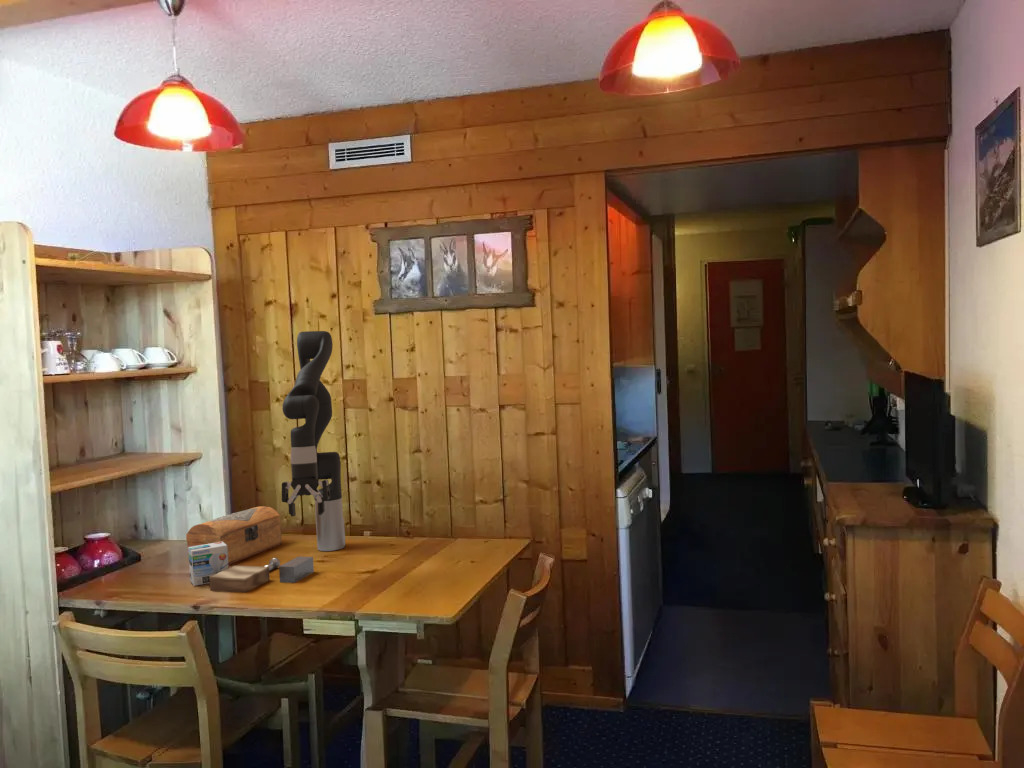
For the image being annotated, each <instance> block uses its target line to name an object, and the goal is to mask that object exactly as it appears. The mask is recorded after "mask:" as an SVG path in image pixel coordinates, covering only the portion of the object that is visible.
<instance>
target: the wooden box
mask: <svg viewBox="0 0 1024 768" xmlns="http://www.w3.org/2000/svg"><path fill="white" fill-rule="evenodd" d="M281 519H282V517H281V515H280V514H279V512H278V511H277V510H276V509H275V508H273V507H271V506H265V505H264V506H263V505H262V506H256V507H251V508H249V509H245V510H241V511H237V512H233V513H230V514H226V515H223V516H220V517H217V518H214V519H211V520H209V521H205V522H202V523H198V524H196V525H193V526H192V527H190V528H189V530H188V532H187V533H185V535H186V536H185V537H186V543H187V548H188V547H192V546H198V545H204V544H210V543H216V542H221V541H223V542H224V543H225V544H226V545H227V548H228V566H230V565H231V564H234V563H236V562H237V563H238V562H239V561H241V560H245V559H246V558H249V557H251V556H254V555H257V554H259V553H262V552H266V551H268V550H270V549H273V548H275V547H278V546H280V545H281V544H282V542H283V541H282V520H281ZM277 545H278V546H277ZM272 547H273V548H272ZM269 548H270V549H269ZM267 549H268V550H267Z"/></svg>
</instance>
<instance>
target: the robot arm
mask: <svg viewBox="0 0 1024 768" xmlns="http://www.w3.org/2000/svg"><path fill="white" fill-rule="evenodd" d="M333 347H334V346H333V337H332V335H331V333H330V332H329V331H326V330H325V331H324V330H314V331H313V330H310V331H309V330H305V331H301V332H299V333H298V334H297V337H296V348H297V355H298V362H299V368H300V369H299V371H298V373H297V375H296V378H295V381H294V386H293V387H292V388H291V390H290V391H289V393H287V395H286V396H285V398H284V400H283V403H282V413H283V415H284V416H285V418H287V419H289V420H302V419H303V420H304V421H305V423H304V424H303V425H300V426H296V427H292V428H291V430H290V450H291V451H290V464H291V465H290V466H291V467H290V468H291V469H290V470H291V479H292V480H291V481H284V482H282V483H281V502H282V503H286V504H287V506H288V514H289V515H290V517H295V516H296V512H297V511H296V503H295V502H296V500H297V498H298V497H299V496H300V497H302V496H312V497H313V498H314V499H313V500H314V513H315V527H316V528H315V529H316V530H315V531H316V543H317V546H316V547H317V550H318V551H322V552H331V551H337V550H342V549H344V548H345V547H346V533H345V532H346V531H345V530H346V529H345V518H344V513H343V512H344V511H343V495H342V492H343V491H342V474H341V473H342V472H341V469H342V467H341V465H342V464H341V456H340V454H339V453H338V452H337V451H327V452H325V451H324V452H323V451H322V452H318V446H319V442H320V440H321V439H322V436H323V434H324V432H325V431H326V429H327V427H328V425H329V423H330V422H331V419H332V417H333V405H332V396H331V394H330V392H329V390H328V389H327V387H326V386H325V385H324V383H323V382H322V381H321V377H322V375H323V372H324V370H325V369H326V367H327V364H328V363H329V360H330V358H331V356H332V353H333ZM329 480H331V482H330V483H329ZM319 486H320V487H321V488H319ZM291 488H292V489H293V491H292V492H291V495H290V496H289V490H290V489H291ZM318 488H319V489H318Z"/></svg>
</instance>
